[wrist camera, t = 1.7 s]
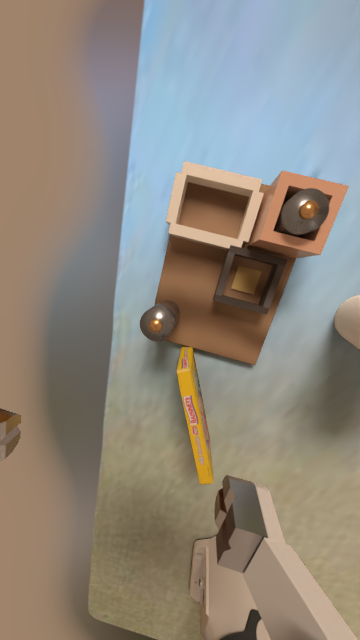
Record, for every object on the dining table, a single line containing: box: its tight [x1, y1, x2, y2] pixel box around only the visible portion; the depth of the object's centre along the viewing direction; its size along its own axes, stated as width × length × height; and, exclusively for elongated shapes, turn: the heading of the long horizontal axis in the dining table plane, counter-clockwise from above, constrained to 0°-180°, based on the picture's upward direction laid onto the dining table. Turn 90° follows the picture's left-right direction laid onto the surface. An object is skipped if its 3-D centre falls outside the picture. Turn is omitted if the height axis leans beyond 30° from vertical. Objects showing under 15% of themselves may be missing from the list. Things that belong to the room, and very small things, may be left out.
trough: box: [166, 161, 264, 250], centre depth 24 cm, size 8×10×2 cm
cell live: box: [140, 300, 180, 341], centre depth 25 cm, size 4×4×8 cm
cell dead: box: [273, 188, 329, 237], centre depth 21 cm, size 4×4×8 cm
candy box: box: [176, 346, 213, 485], centre depth 29 cm, size 16×2×8 cm, turn 11°
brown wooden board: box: [154, 182, 296, 365], centre depth 27 cm, size 22×16×3 cm
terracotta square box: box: [247, 171, 349, 258], centre depth 22 cm, size 6×6×6 cm
